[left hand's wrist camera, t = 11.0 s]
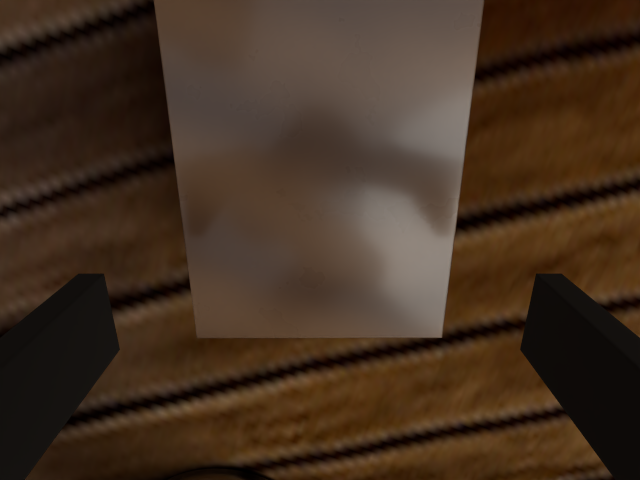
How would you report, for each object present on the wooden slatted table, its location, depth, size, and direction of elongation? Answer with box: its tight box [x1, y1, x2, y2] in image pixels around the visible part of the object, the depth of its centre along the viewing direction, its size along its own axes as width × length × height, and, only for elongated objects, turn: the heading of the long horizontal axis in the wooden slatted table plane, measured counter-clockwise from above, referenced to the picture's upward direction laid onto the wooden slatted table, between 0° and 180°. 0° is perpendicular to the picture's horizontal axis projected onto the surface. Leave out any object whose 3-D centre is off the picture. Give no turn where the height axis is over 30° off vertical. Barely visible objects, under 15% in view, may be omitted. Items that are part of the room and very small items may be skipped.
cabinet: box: [154, 0, 484, 338], centre depth 20 cm, size 19×11×9 cm, turn 0°
